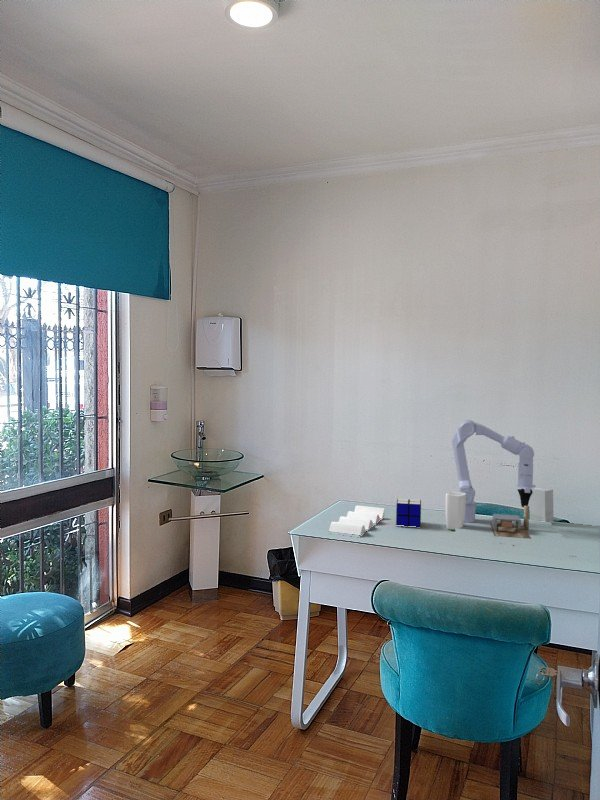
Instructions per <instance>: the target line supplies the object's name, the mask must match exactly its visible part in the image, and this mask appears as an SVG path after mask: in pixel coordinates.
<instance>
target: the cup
mask: <svg viewBox="0 0 600 800" xmlns="http://www.w3.org/2000/svg"><path fill="white" fill-rule="evenodd" d="M465 506H466V494H465V493H460V491H459V492H458V491H448V492H447V493H445V525H446V529H447V530H448V529H450V530H449V531H454V530H455V531H456V529H461V528H464V524H465V522H464V517H465Z"/></svg>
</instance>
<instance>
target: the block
mask: <svg viewBox="0 0 600 800" xmlns="http://www.w3.org/2000/svg"><path fill="white" fill-rule="evenodd" d="M500 523H501V526H500V527H512V524H513V521H505V520H500Z"/></svg>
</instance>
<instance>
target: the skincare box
mask: <svg viewBox="0 0 600 800" xmlns="http://www.w3.org/2000/svg"><path fill="white" fill-rule="evenodd" d="M531 490H532V491H533V493H532V495H531V497H530V499H529V521H531V522H533V521H534V522H544V523H548V522H550V524H551V523H553V524H554V489H552V488H546V487H545V488H544V487H539V486H536V487H533V488H532V489H531Z"/></svg>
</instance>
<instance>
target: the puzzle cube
mask: <svg viewBox="0 0 600 800" xmlns="http://www.w3.org/2000/svg"><path fill="white" fill-rule="evenodd" d="M395 511H396V512H395V513H396V516H395V517H396V518H395V526H396V525H404V526H416V527H420V528H421V523H422V522H421V521H422V520H421V519H422V518H421V517H422V513H421V512H422V500H421V499H413V498H410V499H409V498H397V499H396V510H395Z"/></svg>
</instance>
